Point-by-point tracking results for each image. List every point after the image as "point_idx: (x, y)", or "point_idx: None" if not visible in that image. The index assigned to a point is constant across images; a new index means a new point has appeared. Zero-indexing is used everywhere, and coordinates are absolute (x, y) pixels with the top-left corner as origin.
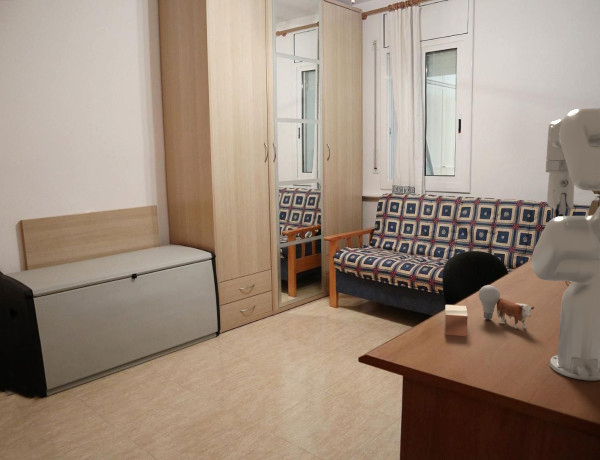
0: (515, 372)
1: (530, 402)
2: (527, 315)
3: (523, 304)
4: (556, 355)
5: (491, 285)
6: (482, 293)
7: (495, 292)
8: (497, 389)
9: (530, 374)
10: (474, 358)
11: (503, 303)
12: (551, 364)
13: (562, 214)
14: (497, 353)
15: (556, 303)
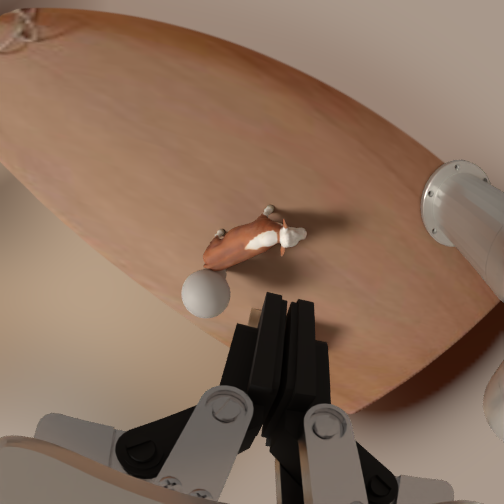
0: (442, 295)
1: (496, 302)
2: (305, 237)
3: (271, 242)
4: (426, 223)
5: (193, 302)
6: (217, 315)
7: (221, 295)
8: (466, 325)
9: (452, 279)
10: (390, 331)
11: (231, 265)
12: (448, 245)
13: (426, 484)
14: (382, 298)
15: (104, 85)
